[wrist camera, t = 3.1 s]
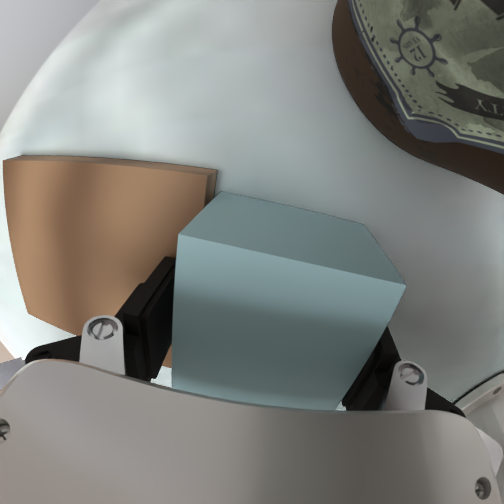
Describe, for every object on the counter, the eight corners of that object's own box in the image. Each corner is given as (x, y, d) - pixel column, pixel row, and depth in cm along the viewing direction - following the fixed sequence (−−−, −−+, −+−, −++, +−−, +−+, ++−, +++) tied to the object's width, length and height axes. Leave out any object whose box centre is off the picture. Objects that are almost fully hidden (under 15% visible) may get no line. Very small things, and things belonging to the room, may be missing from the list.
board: (217, 169, 11) (207, 175, 10) (199, 354, 15) (192, 373, 14) (20, 155, 11) (2, 160, 10) (40, 301, 16) (28, 313, 14)
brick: (363, 224, 11) (406, 285, 7) (309, 362, 15) (311, 439, 10) (221, 191, 11) (178, 233, 7) (200, 339, 15) (172, 413, 10)
